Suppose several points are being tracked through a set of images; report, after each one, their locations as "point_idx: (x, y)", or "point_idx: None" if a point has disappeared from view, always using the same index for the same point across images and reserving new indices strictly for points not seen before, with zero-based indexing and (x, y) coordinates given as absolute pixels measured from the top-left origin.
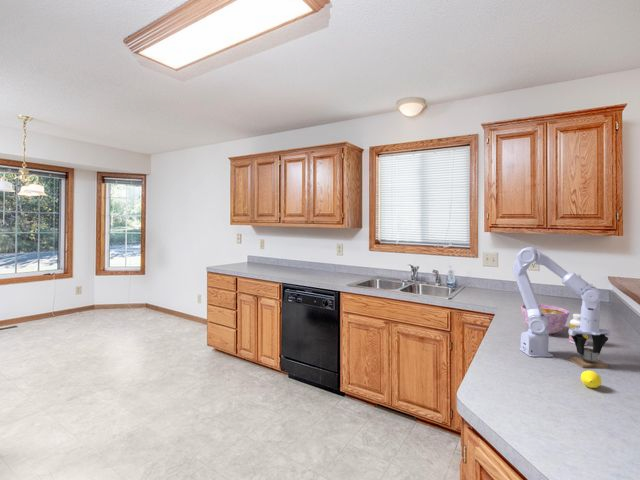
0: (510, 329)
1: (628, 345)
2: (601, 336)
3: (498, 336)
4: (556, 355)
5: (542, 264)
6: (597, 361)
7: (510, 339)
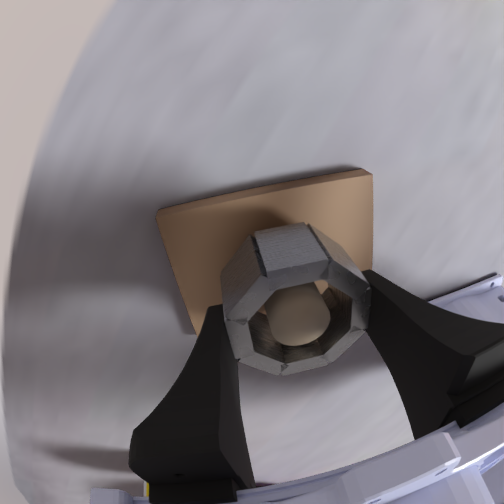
0: None
1: (20, 449)
2: (207, 477)
3: None
4: None
5: None
6: (211, 276)
7: None
